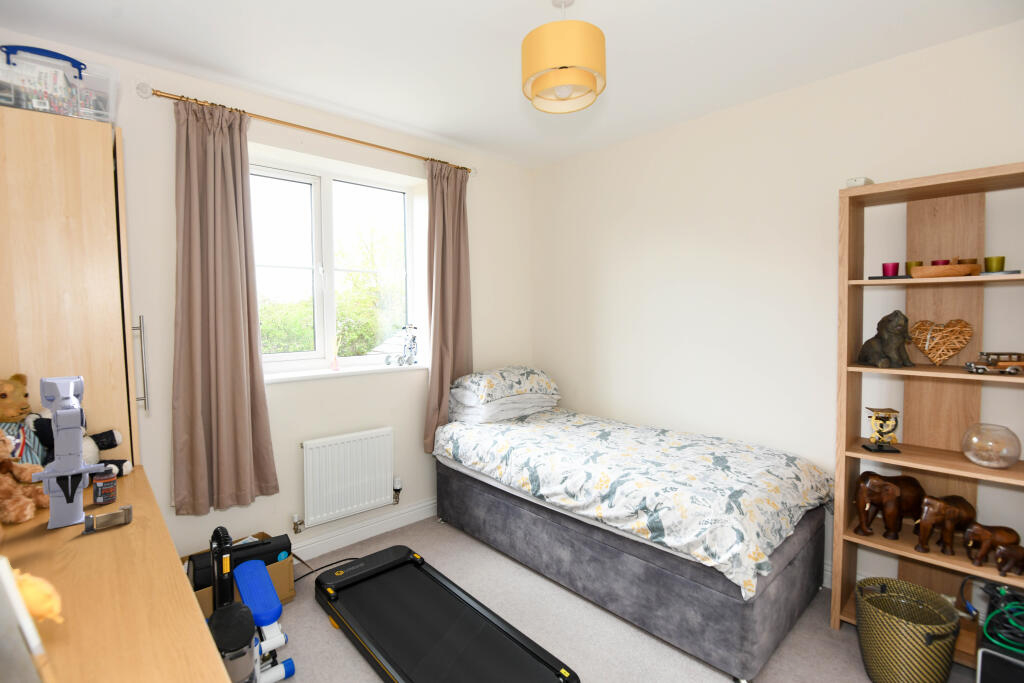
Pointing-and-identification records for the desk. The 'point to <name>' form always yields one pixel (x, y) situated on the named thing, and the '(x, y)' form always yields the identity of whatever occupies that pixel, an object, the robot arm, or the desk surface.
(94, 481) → the supplement bottle
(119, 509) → the white-faced wooden block
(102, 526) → the light wooden bar
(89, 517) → the pivot post
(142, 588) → the desk surface
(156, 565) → the desk surface
